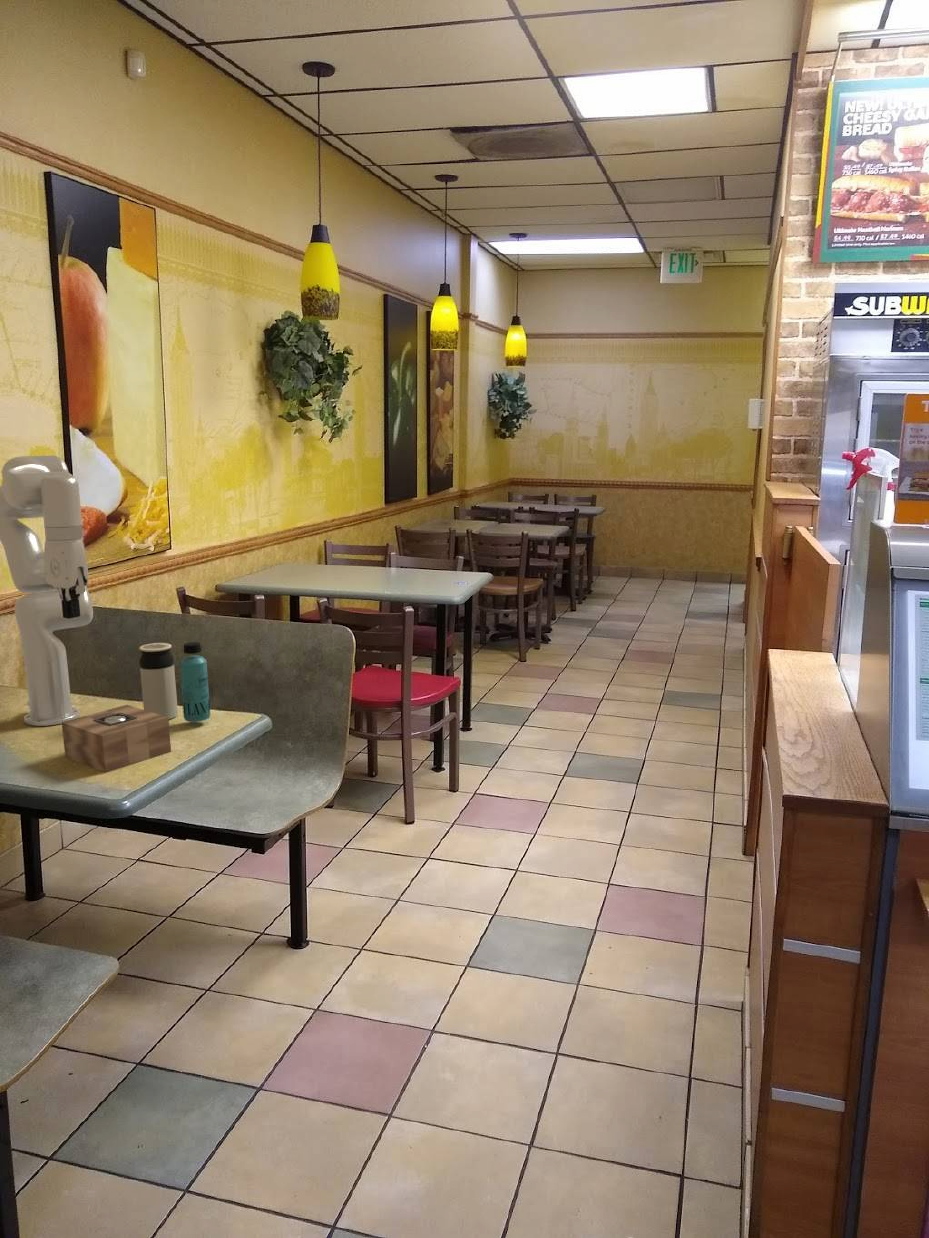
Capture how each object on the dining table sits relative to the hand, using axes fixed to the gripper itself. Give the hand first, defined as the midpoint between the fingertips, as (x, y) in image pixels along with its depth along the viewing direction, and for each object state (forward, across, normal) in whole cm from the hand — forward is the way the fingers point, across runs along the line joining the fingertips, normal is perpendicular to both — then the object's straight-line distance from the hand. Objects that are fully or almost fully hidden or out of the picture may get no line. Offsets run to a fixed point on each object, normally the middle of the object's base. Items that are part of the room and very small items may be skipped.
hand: (71, 617), depth 214 cm
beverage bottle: (+30, +7, +26) cm, 41 cm away
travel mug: (+31, -5, +24) cm, 39 cm away
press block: (+30, +11, +2) cm, 32 cm away
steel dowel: (+30, +11, +2) cm, 32 cm away
